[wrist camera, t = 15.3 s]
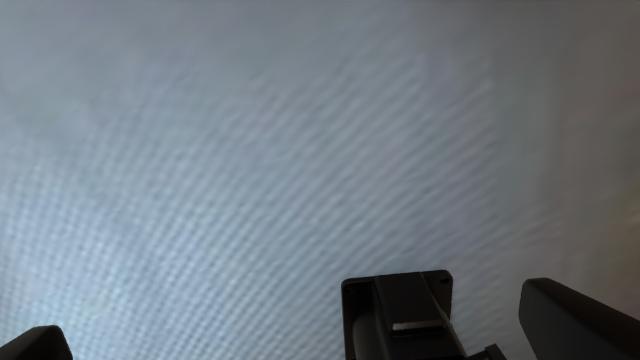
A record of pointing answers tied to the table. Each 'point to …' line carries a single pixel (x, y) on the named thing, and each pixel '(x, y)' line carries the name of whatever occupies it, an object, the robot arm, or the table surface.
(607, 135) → the table surface
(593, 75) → the table surface
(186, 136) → the table surface
